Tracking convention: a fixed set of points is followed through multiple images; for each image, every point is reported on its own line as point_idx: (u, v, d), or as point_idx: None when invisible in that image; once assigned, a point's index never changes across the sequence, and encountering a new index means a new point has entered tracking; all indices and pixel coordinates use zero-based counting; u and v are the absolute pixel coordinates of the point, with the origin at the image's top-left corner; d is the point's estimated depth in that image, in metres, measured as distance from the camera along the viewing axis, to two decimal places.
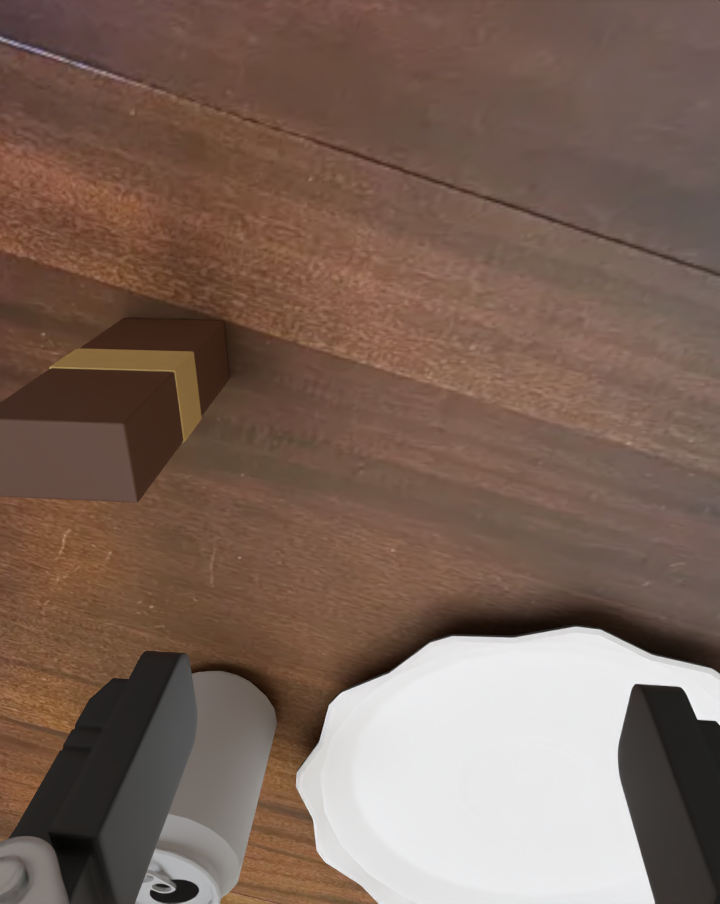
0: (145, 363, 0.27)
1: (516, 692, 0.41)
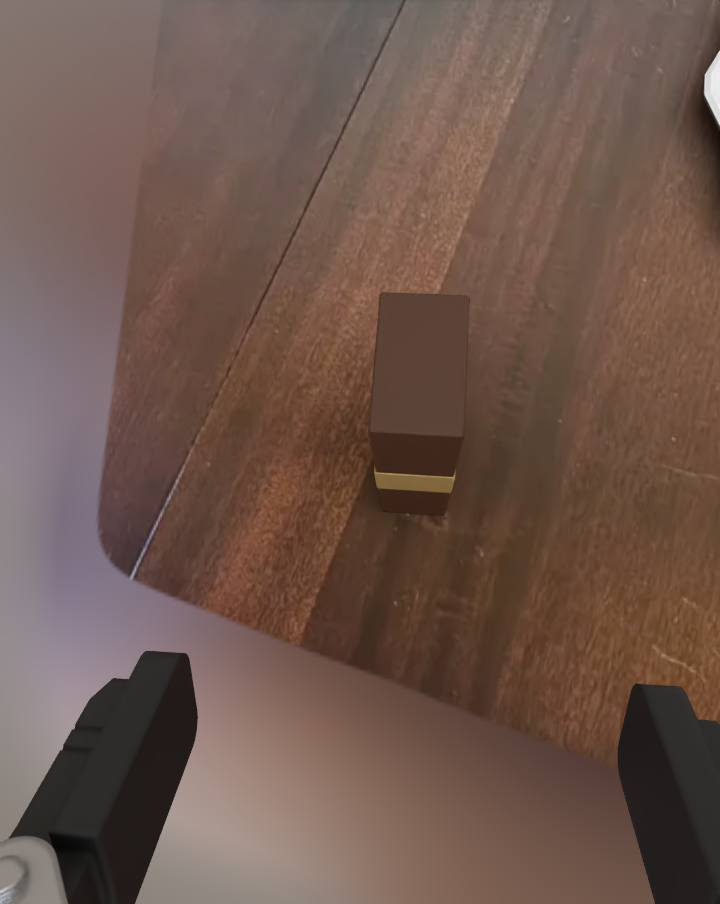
0: None
1: None
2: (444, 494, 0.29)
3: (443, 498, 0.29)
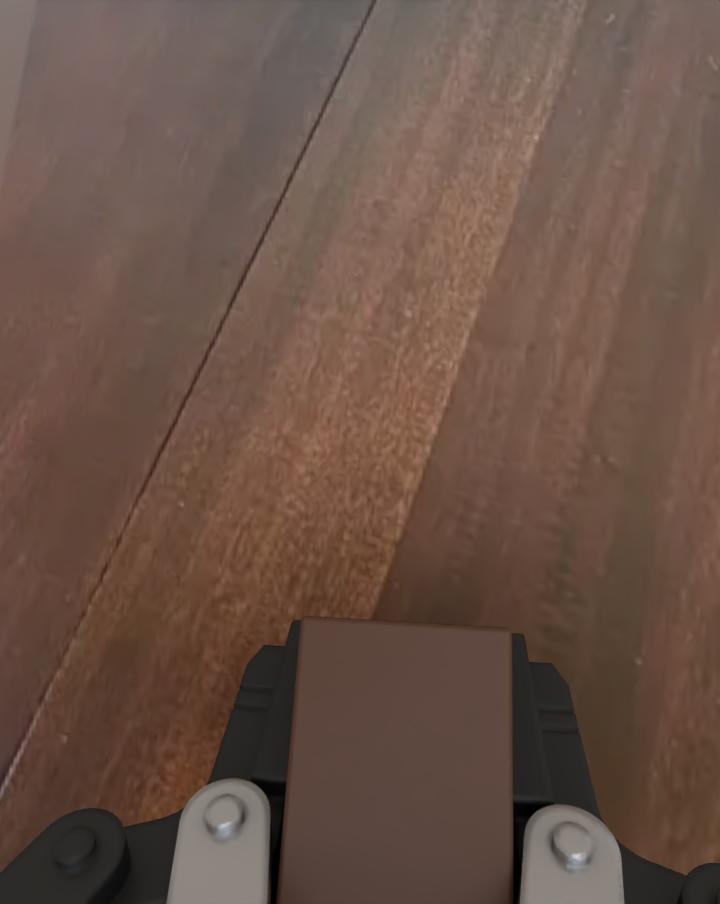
0: None
1: None
2: None
3: None
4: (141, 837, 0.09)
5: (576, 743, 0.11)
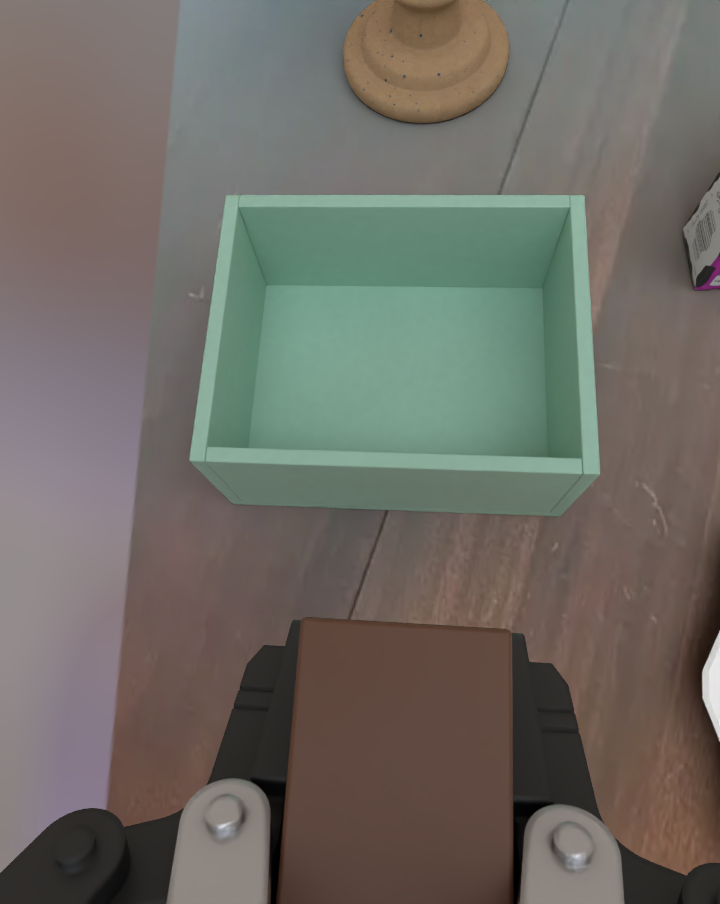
0: None
1: None
2: None
3: None
4: (141, 836, 0.09)
5: (576, 743, 0.11)
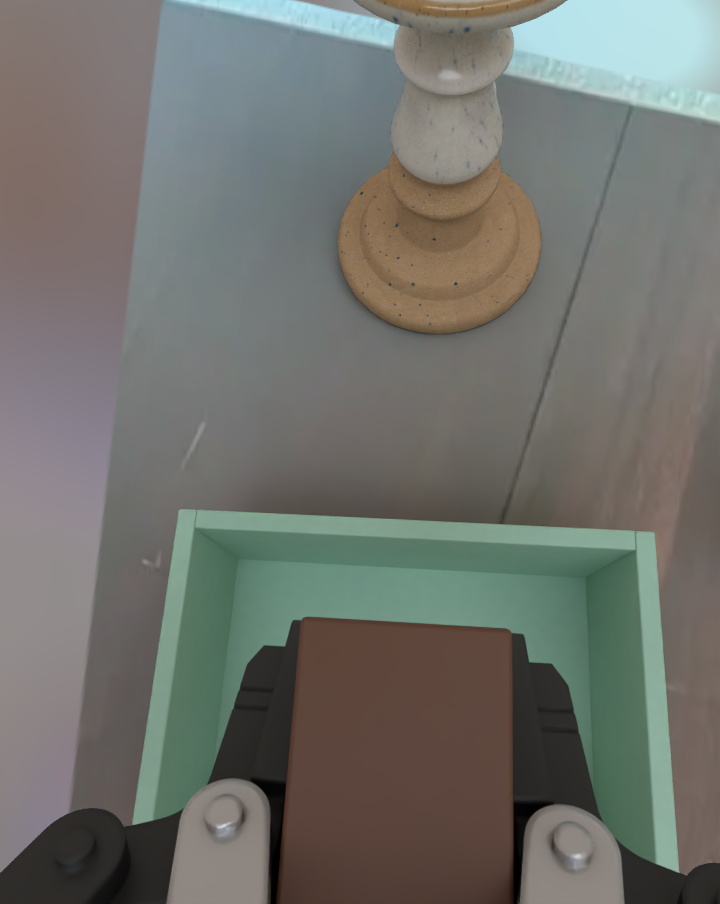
0: None
1: None
2: None
3: None
4: (141, 836, 0.09)
5: (576, 743, 0.11)
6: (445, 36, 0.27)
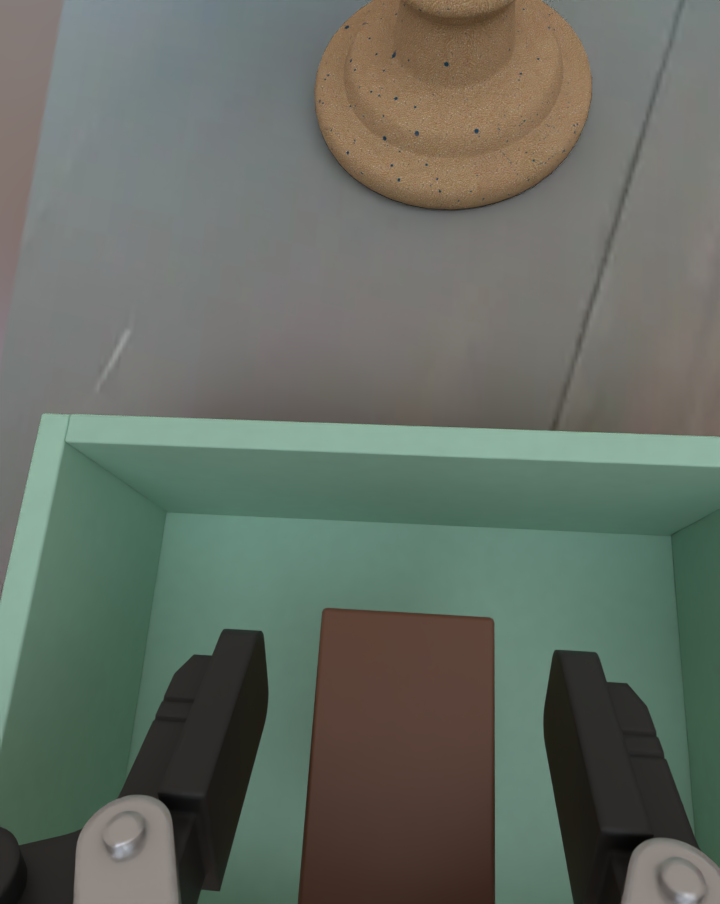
0: None
1: None
2: None
3: None
4: (43, 853, 0.09)
5: (664, 769, 0.10)
6: None
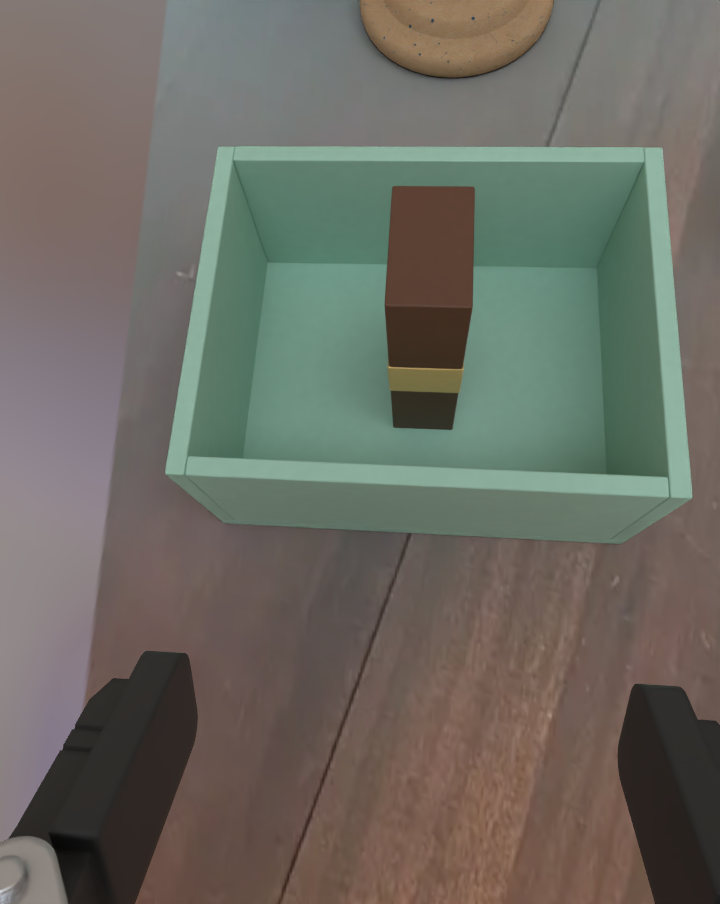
0: None
1: None
2: (453, 396, 0.30)
3: (452, 403, 0.31)
4: None
5: None
6: None
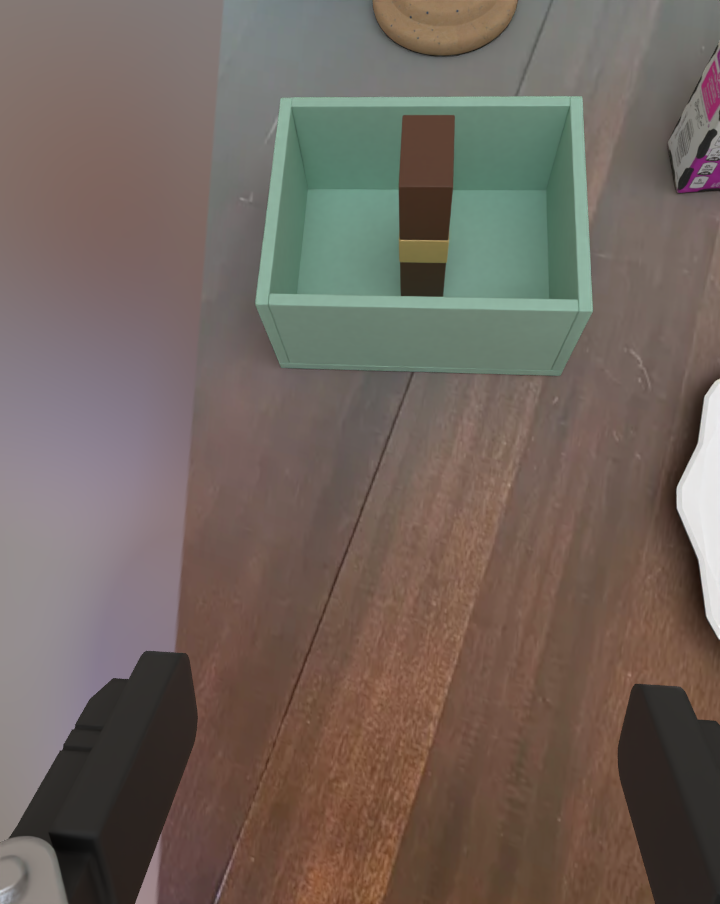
0: None
1: None
2: (442, 266, 0.45)
3: (441, 273, 0.45)
4: None
5: None
6: None
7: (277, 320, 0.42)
